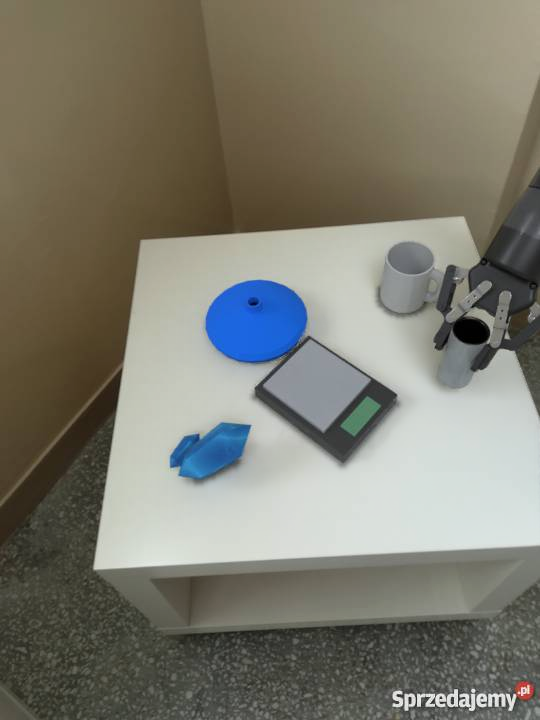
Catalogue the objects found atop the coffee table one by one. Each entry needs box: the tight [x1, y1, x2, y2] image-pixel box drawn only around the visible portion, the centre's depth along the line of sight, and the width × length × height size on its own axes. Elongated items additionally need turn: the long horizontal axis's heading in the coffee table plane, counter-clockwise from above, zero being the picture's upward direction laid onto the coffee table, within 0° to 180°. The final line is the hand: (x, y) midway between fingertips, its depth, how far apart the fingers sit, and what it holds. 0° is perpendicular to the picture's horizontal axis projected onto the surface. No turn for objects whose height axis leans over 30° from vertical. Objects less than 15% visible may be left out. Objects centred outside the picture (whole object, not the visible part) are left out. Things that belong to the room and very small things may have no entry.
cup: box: [379, 240, 445, 314], centre depth 81 cm, size 7×10×9 cm
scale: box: [254, 335, 398, 464], centre depth 75 cm, size 16×12×3 cm
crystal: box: [169, 421, 252, 480], centre depth 69 cm, size 7×9×12 cm
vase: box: [205, 279, 308, 364], centre depth 81 cm, size 16×16×7 cm
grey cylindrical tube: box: [437, 315, 491, 390], centre depth 69 cm, size 4×4×10 cm
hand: (456, 359), depth 68 cm, fingers closed on grey cylindrical tube, 4 cm apart
